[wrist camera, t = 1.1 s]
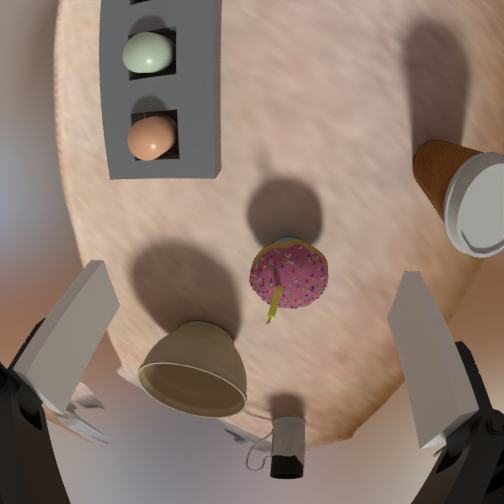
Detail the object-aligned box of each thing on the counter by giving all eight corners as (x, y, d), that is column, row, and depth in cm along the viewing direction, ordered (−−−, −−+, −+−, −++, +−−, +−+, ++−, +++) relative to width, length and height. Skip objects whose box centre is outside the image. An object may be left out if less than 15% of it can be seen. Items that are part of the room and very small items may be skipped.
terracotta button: (141, 116, 26) (125, 121, 23) (177, 112, 25) (164, 117, 22) (144, 152, 28) (129, 161, 25) (179, 150, 28) (167, 159, 25)
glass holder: (307, 428, 64) (306, 478, 51) (253, 429, 66) (247, 478, 54) (306, 415, 59) (305, 472, 47) (247, 416, 62) (240, 471, 49)
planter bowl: (178, 286, 40) (153, 346, 31) (273, 334, 43) (269, 396, 34) (147, 340, 48) (127, 389, 39) (224, 376, 52) (215, 425, 42)
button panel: (118, -30, 16) (105, -37, 14) (223, -52, 15) (218, -63, 13) (122, 170, 31) (110, 179, 28) (221, 169, 30) (215, 178, 27)
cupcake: (249, 273, 37) (236, 348, 27) (260, 214, 32) (249, 283, 22) (313, 285, 37) (320, 360, 27) (333, 229, 32) (352, 301, 23)
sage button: (139, 39, 21) (122, 36, 18) (176, 33, 21) (163, 28, 18) (139, 75, 23) (123, 75, 20) (176, 70, 23) (162, 69, 20)
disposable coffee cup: (391, 134, 26) (448, 170, 16) (461, 119, 23) (530, 149, 13) (406, 212, 30) (450, 275, 20) (469, 194, 27) (524, 245, 17)
